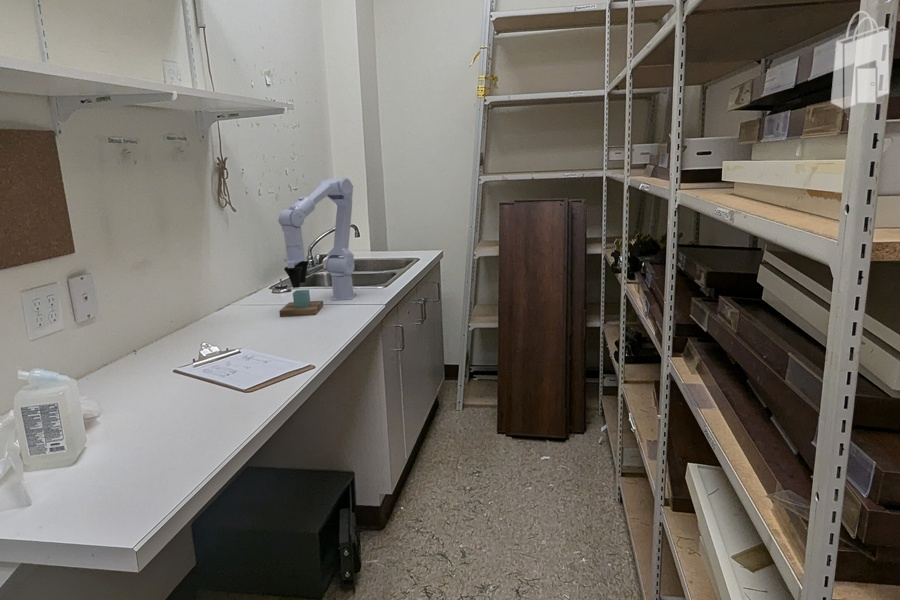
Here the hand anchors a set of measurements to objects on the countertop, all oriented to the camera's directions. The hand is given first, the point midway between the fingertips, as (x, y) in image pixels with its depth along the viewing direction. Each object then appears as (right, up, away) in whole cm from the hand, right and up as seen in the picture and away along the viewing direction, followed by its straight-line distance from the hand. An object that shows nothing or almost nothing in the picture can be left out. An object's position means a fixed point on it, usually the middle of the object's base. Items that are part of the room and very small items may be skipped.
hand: (299, 285), depth 196 cm
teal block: (+1, -7, +2) cm, 7 cm away
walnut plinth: (+1, -9, +2) cm, 9 cm away
